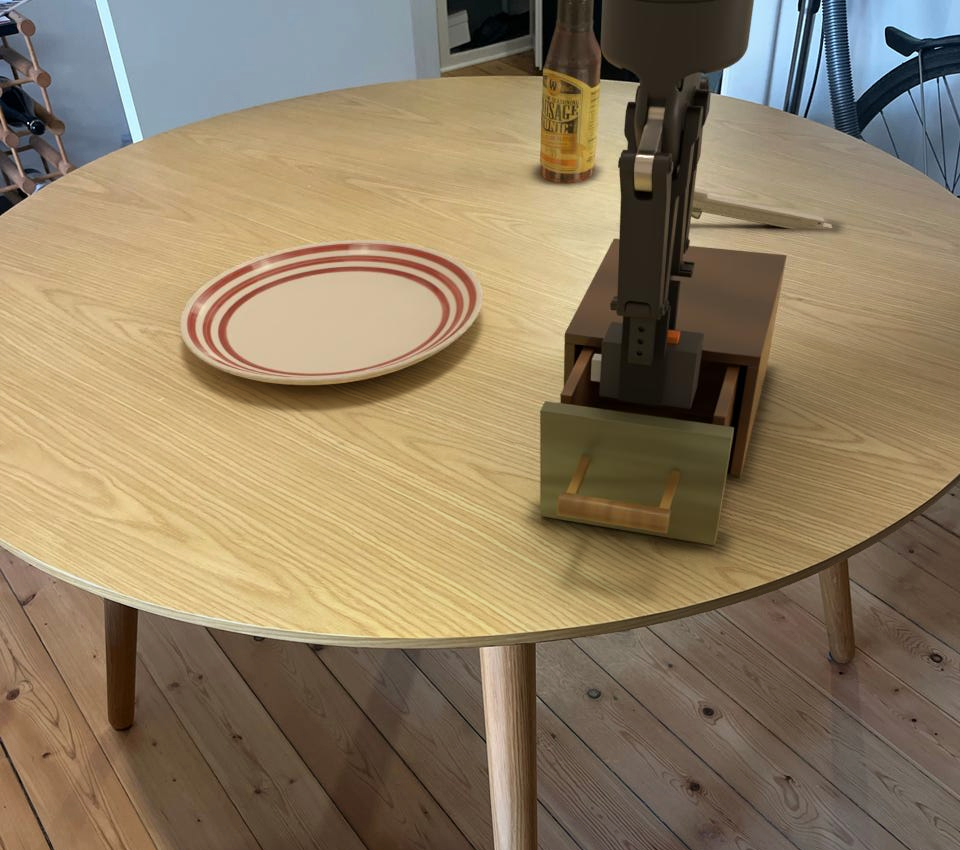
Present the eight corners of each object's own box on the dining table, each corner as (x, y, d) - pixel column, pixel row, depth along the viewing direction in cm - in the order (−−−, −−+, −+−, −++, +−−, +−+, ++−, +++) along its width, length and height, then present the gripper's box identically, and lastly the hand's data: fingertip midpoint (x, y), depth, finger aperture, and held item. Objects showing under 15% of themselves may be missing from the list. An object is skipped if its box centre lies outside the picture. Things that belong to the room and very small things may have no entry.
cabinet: (739, 484, 76) (761, 357, 68) (562, 457, 79) (564, 333, 72) (765, 376, 86) (786, 254, 79) (607, 356, 90) (613, 237, 82)
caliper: (632, 233, 107) (636, 171, 102) (632, 228, 107) (636, 167, 103) (833, 234, 104) (846, 171, 100) (832, 230, 105) (845, 167, 101)
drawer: (700, 601, 66) (717, 492, 60) (517, 567, 69) (514, 460, 63) (743, 428, 79) (761, 324, 73) (588, 407, 82) (592, 305, 76)
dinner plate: (165, 298, 101) (156, 266, 98) (427, 244, 107) (425, 212, 104) (218, 446, 82) (208, 410, 80) (530, 370, 88) (530, 335, 86)
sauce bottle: (529, 179, 117) (527, -21, 103) (565, 163, 120) (568, -34, 106) (571, 194, 114) (576, -11, 100) (607, 177, 117) (617, -25, 103)
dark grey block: (696, 388, 67) (705, 327, 64) (690, 409, 66) (698, 347, 62) (596, 374, 69) (599, 314, 66) (587, 394, 67) (589, 333, 64)
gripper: (734, 17, 44) (680, 463, 61) (776, -67, 54) (720, 335, 71) (565, 9, 46) (558, 445, 63) (637, -70, 56) (615, 322, 73)
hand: (644, 386), depth 67 cm, fingers closed on dark grey block, 3 cm apart
